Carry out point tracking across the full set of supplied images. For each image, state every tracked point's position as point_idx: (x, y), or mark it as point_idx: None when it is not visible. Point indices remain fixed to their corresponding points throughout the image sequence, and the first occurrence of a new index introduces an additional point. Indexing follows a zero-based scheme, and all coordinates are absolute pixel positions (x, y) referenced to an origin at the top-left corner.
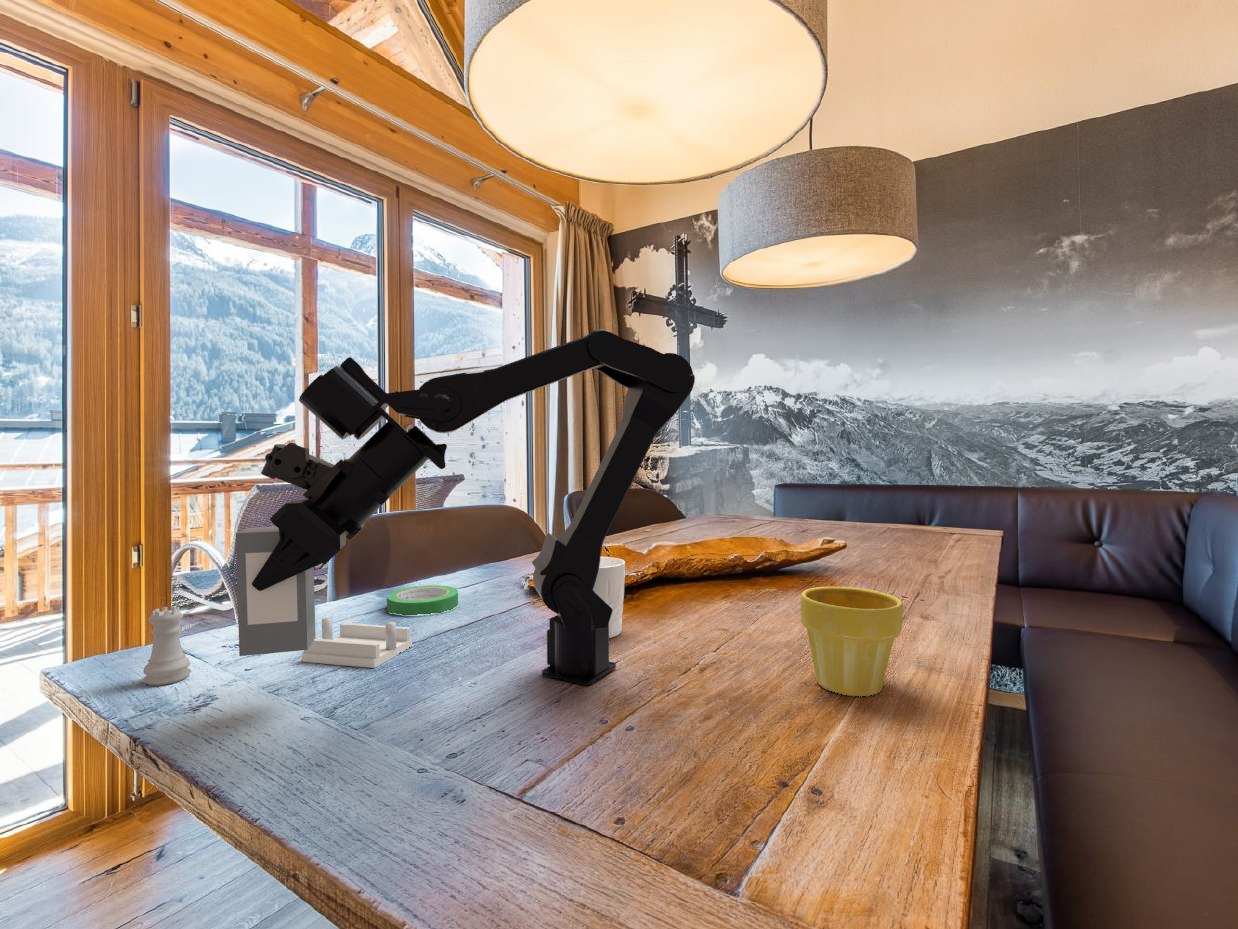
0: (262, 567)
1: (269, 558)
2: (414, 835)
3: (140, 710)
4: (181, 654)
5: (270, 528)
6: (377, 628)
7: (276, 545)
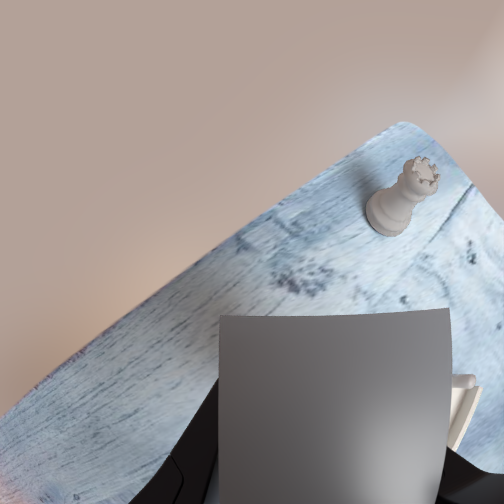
0: (192, 420)
1: (171, 453)
2: (15, 466)
3: (295, 221)
4: (399, 218)
5: (386, 451)
6: (452, 444)
7: (136, 496)
